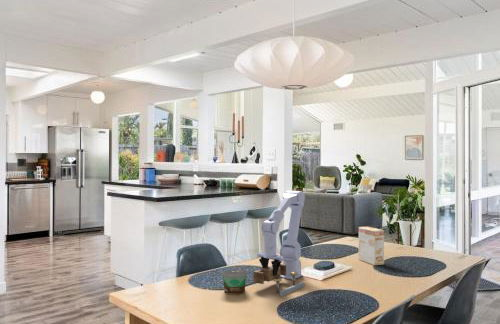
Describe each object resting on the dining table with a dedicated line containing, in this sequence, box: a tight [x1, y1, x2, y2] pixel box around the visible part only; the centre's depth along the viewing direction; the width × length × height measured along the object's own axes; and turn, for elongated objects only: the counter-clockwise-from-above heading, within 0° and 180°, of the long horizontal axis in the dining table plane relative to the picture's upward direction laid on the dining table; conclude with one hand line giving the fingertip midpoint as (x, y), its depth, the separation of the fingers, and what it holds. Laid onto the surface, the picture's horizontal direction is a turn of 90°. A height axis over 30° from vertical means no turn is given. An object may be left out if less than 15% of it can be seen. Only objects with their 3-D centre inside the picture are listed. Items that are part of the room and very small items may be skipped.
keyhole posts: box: [272, 272, 298, 294], centre depth 199 cm, size 17×4×6 cm, turn 140°
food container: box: [220, 269, 248, 295], centre depth 195 cm, size 12×6×10 cm, turn 105°
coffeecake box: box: [358, 225, 385, 266], centre depth 248 cm, size 15×7×20 cm, turn 22°
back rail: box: [279, 281, 305, 297], centre depth 197 cm, size 18×1×2 cm, turn 140°
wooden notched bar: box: [253, 263, 286, 285], centre depth 205 cm, size 19×5×5 cm, turn 140°
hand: (270, 274), depth 205 cm, fingers closed on wooden notched bar, 5 cm apart
